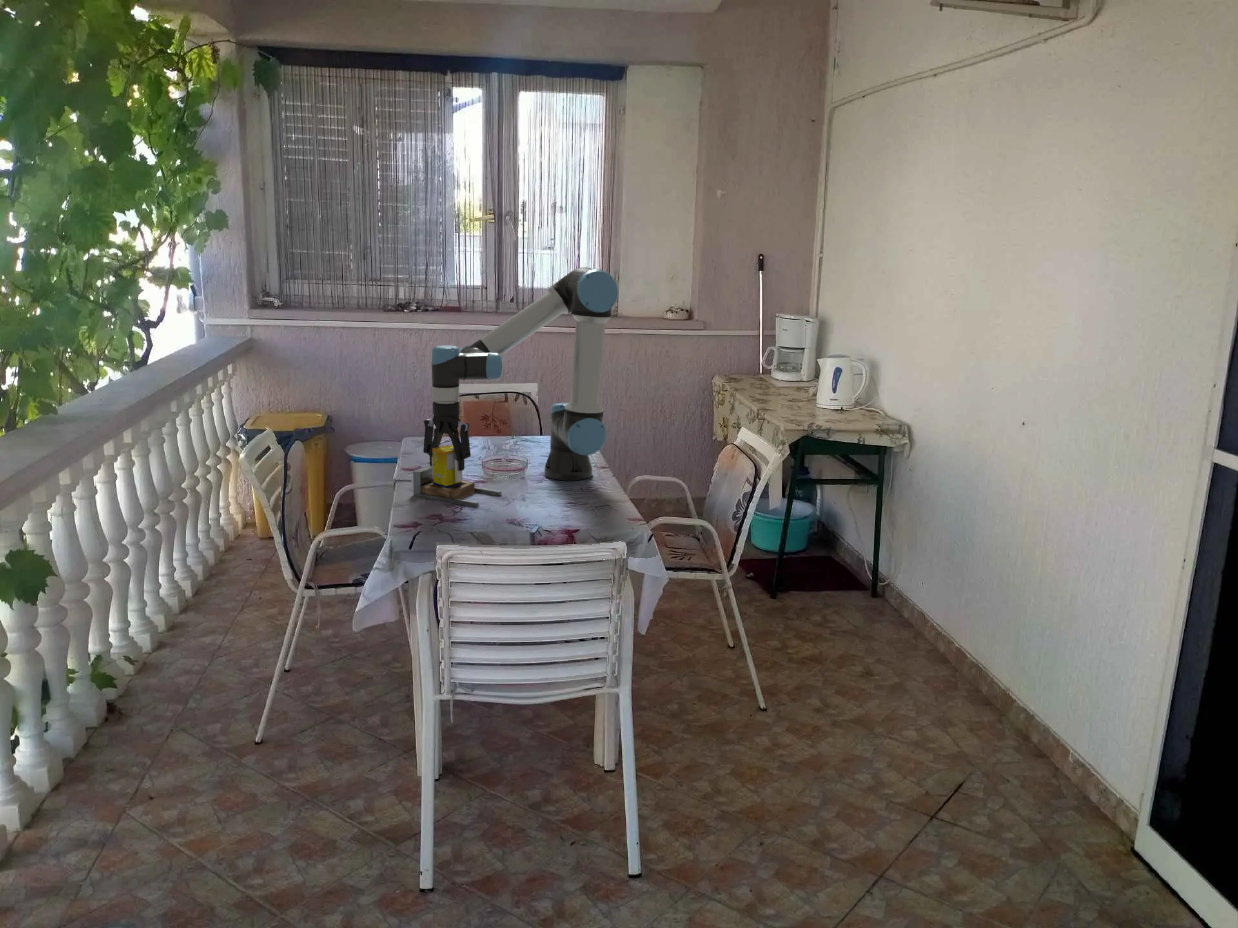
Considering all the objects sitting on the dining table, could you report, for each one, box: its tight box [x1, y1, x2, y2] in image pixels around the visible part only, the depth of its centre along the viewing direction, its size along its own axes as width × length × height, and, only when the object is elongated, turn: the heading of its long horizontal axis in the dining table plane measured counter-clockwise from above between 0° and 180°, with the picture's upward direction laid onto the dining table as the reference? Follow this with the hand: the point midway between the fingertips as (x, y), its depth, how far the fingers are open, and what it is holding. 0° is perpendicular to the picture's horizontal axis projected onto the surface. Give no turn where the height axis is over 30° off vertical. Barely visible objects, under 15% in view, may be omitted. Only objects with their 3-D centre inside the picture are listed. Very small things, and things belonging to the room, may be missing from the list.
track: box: [412, 464, 502, 508], centre depth 267 cm, size 22×14×7 cm, turn 67°
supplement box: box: [432, 444, 461, 488], centre depth 267 cm, size 6×6×11 cm
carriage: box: [421, 480, 476, 500], centre depth 268 cm, size 11×11×3 cm
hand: (447, 479), depth 267 cm, fingers closed on supplement box, 7 cm apart
